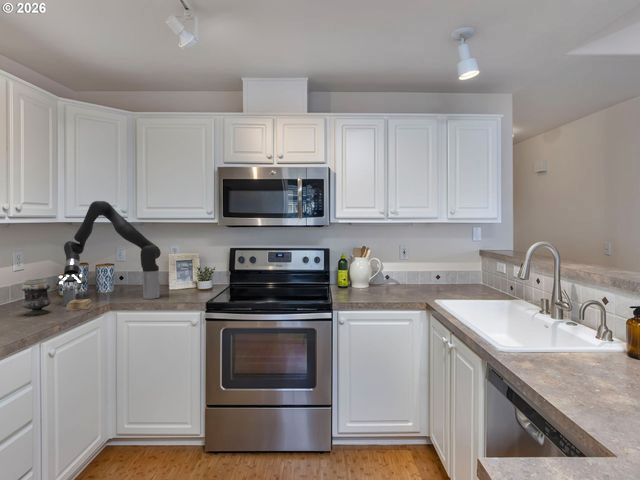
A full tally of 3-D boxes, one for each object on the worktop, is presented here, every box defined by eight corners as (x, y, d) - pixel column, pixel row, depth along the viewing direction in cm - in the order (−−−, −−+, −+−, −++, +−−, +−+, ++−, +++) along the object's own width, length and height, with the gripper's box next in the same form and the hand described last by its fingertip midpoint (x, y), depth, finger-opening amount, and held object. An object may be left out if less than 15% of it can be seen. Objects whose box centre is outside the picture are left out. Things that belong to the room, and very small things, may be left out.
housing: (76, 303, 214) (76, 285, 214) (74, 305, 209) (73, 286, 208) (64, 304, 212) (64, 285, 211) (62, 306, 207) (61, 287, 206)
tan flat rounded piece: (91, 305, 210) (91, 298, 209) (88, 309, 200) (87, 302, 200) (71, 307, 206) (70, 300, 206) (66, 311, 196) (66, 303, 196)
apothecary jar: (46, 309, 200) (45, 277, 199) (55, 312, 193) (53, 279, 192) (18, 314, 190) (17, 280, 189) (27, 317, 183) (25, 282, 182)
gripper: (56, 264, 217) (53, 287, 207) (85, 263, 223) (83, 285, 213) (58, 272, 221) (55, 294, 212) (86, 271, 228) (84, 292, 218)
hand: (69, 289), depth 213 cm, fingers open, 8 cm apart
